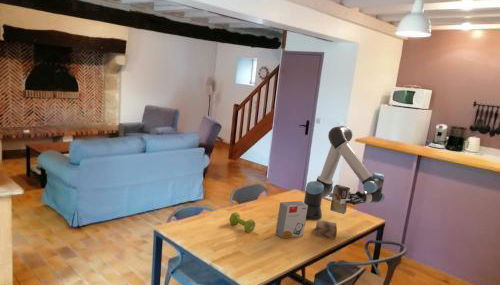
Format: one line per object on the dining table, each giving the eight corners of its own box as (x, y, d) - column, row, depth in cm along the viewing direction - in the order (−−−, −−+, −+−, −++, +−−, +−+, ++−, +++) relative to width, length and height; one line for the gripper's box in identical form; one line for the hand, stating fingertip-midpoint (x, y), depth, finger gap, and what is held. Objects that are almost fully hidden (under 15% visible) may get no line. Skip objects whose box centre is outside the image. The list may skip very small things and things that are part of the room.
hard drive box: (281, 239, 207) (286, 206, 203) (275, 233, 213) (279, 202, 209) (303, 236, 214) (308, 205, 210) (296, 230, 221) (300, 200, 217)
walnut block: (315, 236, 216) (316, 227, 215) (315, 228, 228) (317, 219, 227) (335, 240, 214) (336, 230, 213) (334, 231, 226) (336, 223, 225)
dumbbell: (255, 231, 213) (257, 219, 212) (246, 234, 208) (248, 223, 206) (236, 221, 224) (237, 210, 223) (227, 224, 218) (228, 213, 217)
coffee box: (346, 211, 226) (350, 187, 223) (343, 214, 220) (348, 190, 217) (332, 207, 230) (336, 184, 227) (329, 210, 225) (333, 186, 222)
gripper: (374, 209, 221) (345, 211, 212) (350, 196, 242) (323, 197, 233) (376, 198, 219) (347, 199, 211) (352, 185, 240) (325, 186, 232)
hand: (335, 198), depth 222 cm, fingers closed on coffee box, 11 cm apart
